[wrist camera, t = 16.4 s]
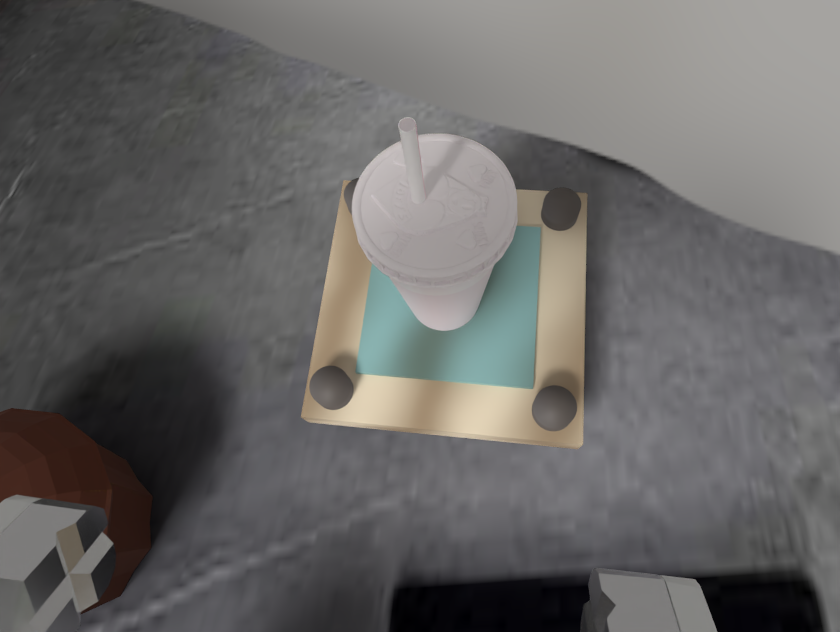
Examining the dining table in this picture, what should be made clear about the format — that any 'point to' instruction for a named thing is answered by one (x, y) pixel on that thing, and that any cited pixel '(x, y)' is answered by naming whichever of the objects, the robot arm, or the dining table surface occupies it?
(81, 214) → the dining table surface
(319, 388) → the peg shelf
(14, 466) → the muffin
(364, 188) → the smoothie
